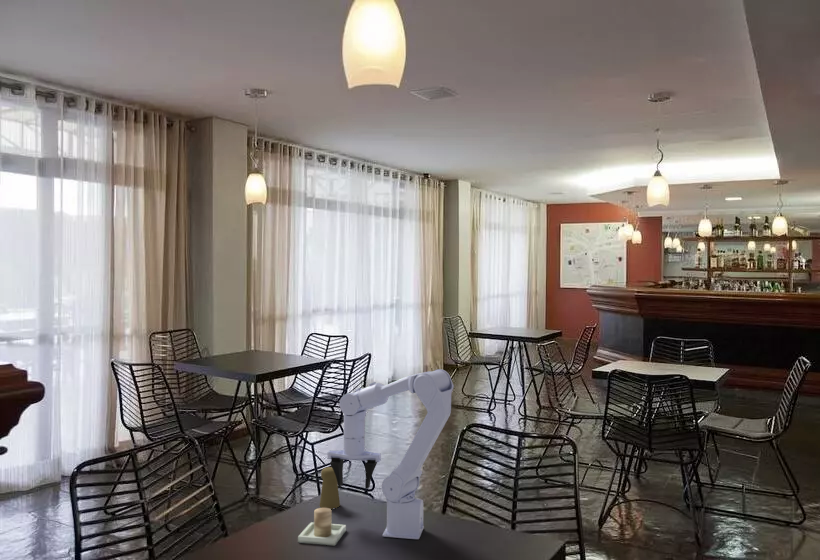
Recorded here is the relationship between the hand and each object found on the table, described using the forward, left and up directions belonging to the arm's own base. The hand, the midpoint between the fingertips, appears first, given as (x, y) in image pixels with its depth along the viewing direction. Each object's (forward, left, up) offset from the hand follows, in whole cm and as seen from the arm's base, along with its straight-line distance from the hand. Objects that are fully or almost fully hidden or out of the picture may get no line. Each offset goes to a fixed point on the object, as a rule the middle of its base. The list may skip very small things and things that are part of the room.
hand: (353, 486), depth 172 cm
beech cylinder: (+5, +11, -9) cm, 15 cm away
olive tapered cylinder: (+10, -10, -10) cm, 17 cm away
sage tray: (+5, +12, -9) cm, 16 cm away
